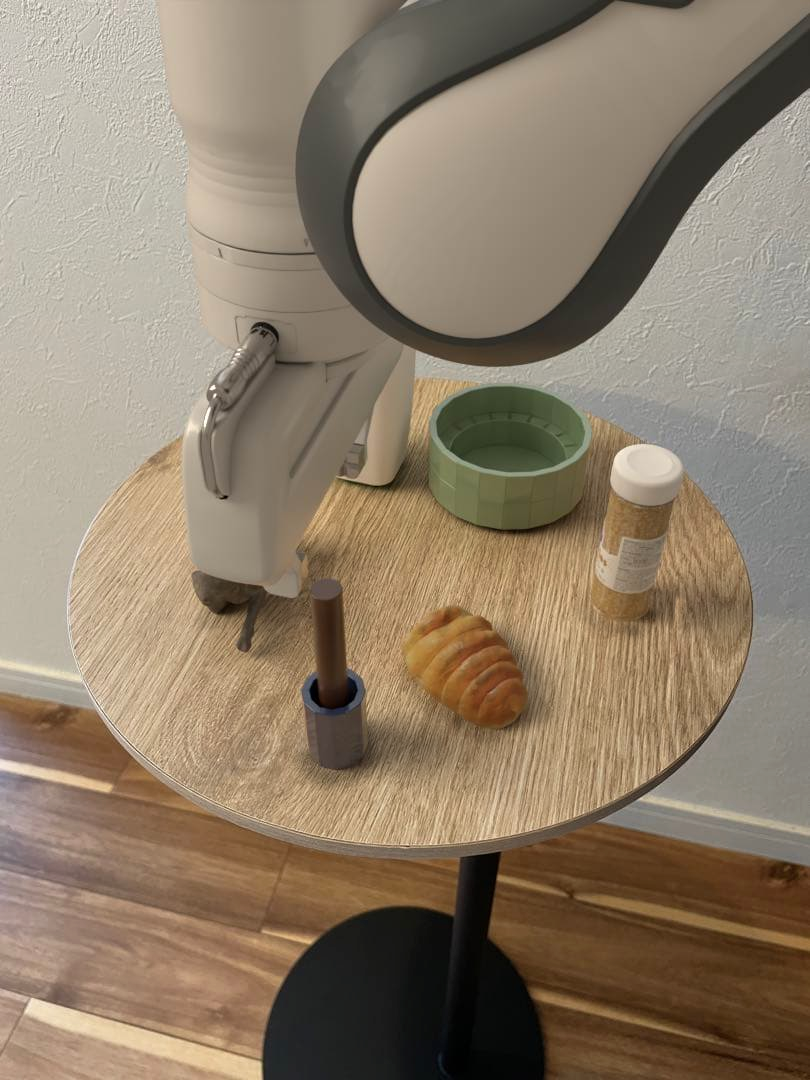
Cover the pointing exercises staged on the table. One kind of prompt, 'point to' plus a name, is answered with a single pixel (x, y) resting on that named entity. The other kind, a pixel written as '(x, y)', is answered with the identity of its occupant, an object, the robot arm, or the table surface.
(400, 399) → the cup
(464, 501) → the bowl
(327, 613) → the stick
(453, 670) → the pastry
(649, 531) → the tan spice jar
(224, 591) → the dog figurine
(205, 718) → the table surface
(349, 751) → the holder
